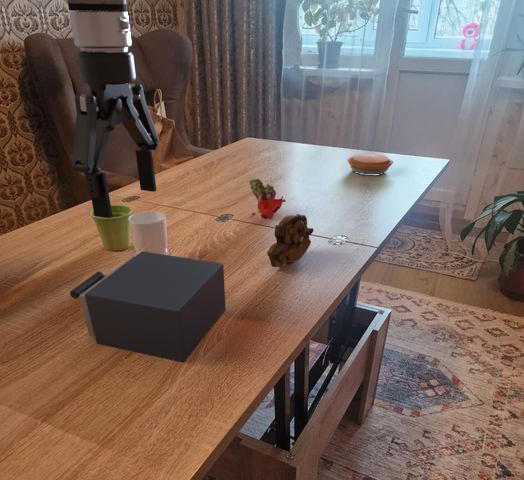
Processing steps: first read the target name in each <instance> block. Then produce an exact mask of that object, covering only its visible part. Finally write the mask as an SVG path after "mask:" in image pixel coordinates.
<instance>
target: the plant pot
mask: <svg viewBox="0 0 524 480" xmlns="http://www.w3.org/2000/svg"><path fill="white" fill-rule="evenodd" d="M111 209H112V215H113V217H111V218H106V217H99V216H95V215H94V210H93V209H91V210H90V212H89V216H90V217H91V218H92V219H93V222H94V223H95V226H96V228H97V231H98V234H99V237H100V239H101V242H102V245H103V248H104V249H105V250H106V251H109V252H110V251H111V252H115V251H118V250H119V251H124V250H126V249H128V248H129V247H130V246H131V229H130V224H129V220H128V218H129V217H130V216H131V215H132V212H133V209H132V207H130V206H128V205H124V204H111Z"/></svg>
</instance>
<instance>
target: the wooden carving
mask: <svg viewBox="0 0 524 480" xmlns="http://www.w3.org/2000/svg"><path fill="white" fill-rule="evenodd" d="M313 233H314V228H313V227H308V218H307V216H306V215H304V214H299V213H297V214H296V215H295V214H287V215H286V216H284V217H283V218H282V219H281V220H280V221H279V223H278V224H276V225H275V226H274V238H275V240H276V242H274V243H273V244H271V245H270V246H269V248H268V250H267V254H266V255H267V257H268V259H269V261H270V265H271V267H273V268H283V267H284V266H285V264H286V263H295V262H298V261H299V260H300V259H301V258H302V257H303V256H305V254H306V253H307V251H308V249H309V248H310V246H311V244H312V241H311V239H310V236H311V235H312V234H313Z"/></svg>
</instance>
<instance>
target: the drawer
mask: <svg viewBox="0 0 524 480" xmlns="http://www.w3.org/2000/svg"><path fill="white" fill-rule="evenodd" d="M135 256H136V255H132V256H131V257H129V258H128V259H127V260H126V261H124V262H123V263H121V264H120V265H119V266H117V267H116V268H114V269H113V270H112V271H110V272H109V273H108V274H104V273H103V272H102V271H97V272H95V273H94V274H92V275H90V276H89V277H88V278H87V279H85V280H84V281H83V282H81V283H80V284H79V285H77V286H75V287H74V288H73V289H71V290H70V291H69V295H70V297H71V298H72V299H75V300H76V299H78V298H79V300H80V305H81V309H82V312H83V316H84V320H85V324H86V328H87V333H88V335H89V336H90V337H95V335H94V331H93V327H92V323H91V319H90V314H89V310H88V306H87V302H86V298H85V293H87V292H88V291H89V290H91V289H92V288H93V287H95V286H96V285H97V284H99V283H100V282H101V281H103V280H104V279H106V278H107V277H108V276H110V275H111V274H112V273H114V272H115V271H116V270H118V269H119V268H120V267H122V266H123V265H124V264H126V263H127V262H128V261H130V260H131V259H132V258H134V257H135Z"/></svg>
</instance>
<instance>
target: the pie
mask: <svg viewBox="0 0 524 480" xmlns="http://www.w3.org/2000/svg"><path fill="white" fill-rule="evenodd" d="M347 162H348V164H349V166H350V168H351V170H352V172H353V171H355V172H358V173H363V174H381V173H384V172H385V173H386V172H387V171H388V170H389V169H390V167H391V166H392V165H393V164H394V160H393V159H391V158H389V156H387V155H383V154H377V153H358V154H355V155H352V156H350V157H349V158H348V159H347ZM385 173H384V174H385Z"/></svg>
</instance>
